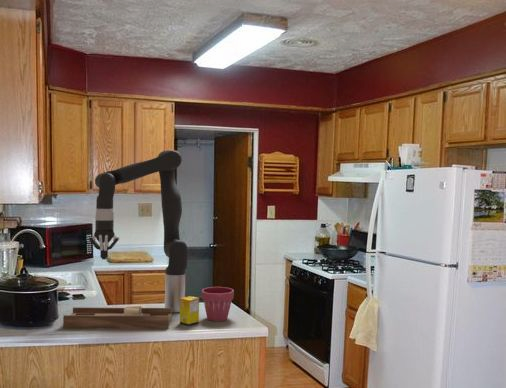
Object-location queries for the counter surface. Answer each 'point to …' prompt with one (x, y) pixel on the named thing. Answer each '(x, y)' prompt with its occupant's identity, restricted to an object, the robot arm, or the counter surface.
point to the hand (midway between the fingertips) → (104, 259)
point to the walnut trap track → (117, 318)
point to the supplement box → (189, 310)
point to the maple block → (132, 311)
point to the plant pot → (217, 302)
